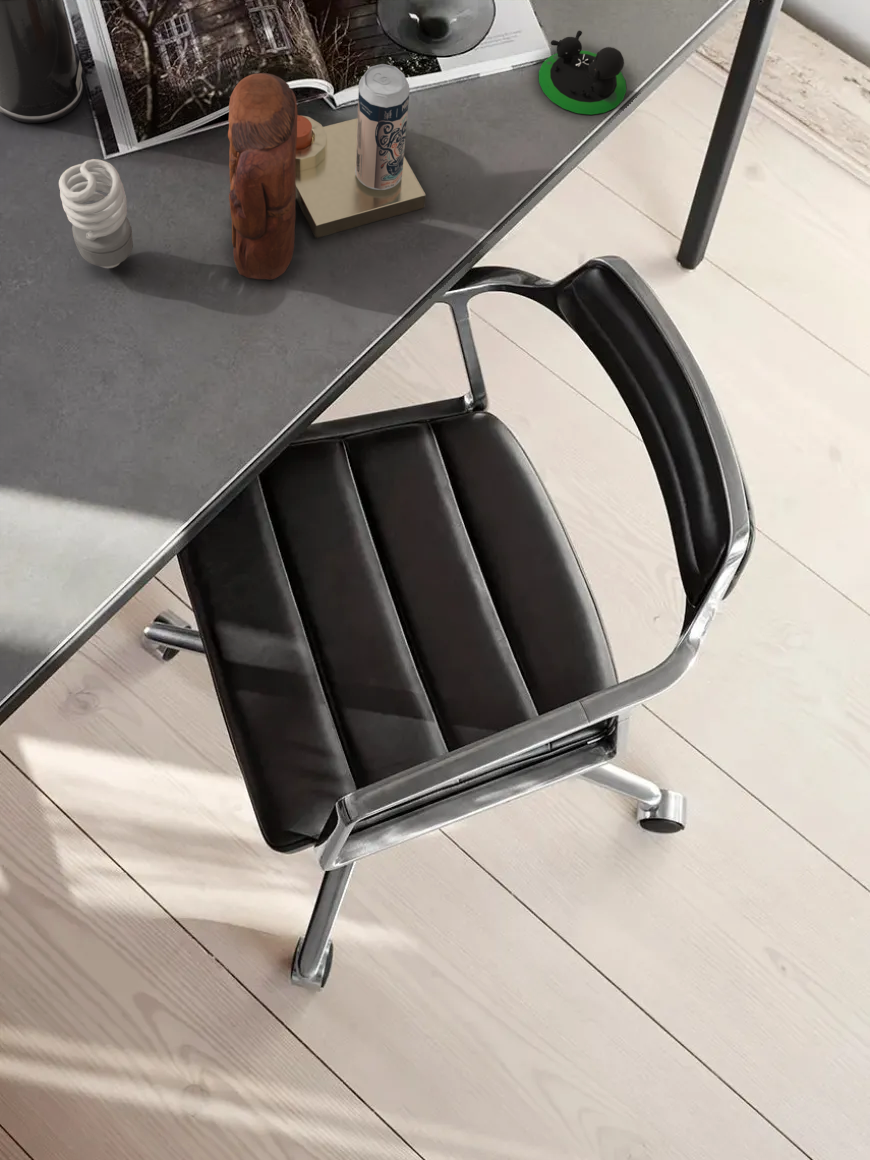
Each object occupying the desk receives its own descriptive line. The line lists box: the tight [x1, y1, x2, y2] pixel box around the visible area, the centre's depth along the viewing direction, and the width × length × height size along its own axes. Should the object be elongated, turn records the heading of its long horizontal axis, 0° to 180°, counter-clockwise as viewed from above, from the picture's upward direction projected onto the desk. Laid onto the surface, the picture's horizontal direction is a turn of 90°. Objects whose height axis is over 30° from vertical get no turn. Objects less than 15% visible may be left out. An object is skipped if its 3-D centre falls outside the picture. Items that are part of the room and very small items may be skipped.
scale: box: [295, 115, 427, 239], centre depth 115 cm, size 13×13×4 cm
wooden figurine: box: [227, 72, 298, 280], centre depth 104 cm, size 12×6×18 cm, turn 179°
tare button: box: [296, 114, 312, 150], centre depth 113 cm, size 3×3×2 cm
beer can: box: [355, 63, 411, 190], centre depth 109 cm, size 5×5×12 cm
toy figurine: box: [538, 30, 627, 116], centre depth 123 cm, size 10×10×6 cm
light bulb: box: [58, 158, 134, 269], centre depth 104 cm, size 6×6×12 cm
